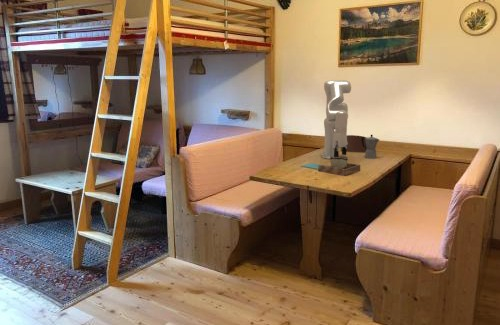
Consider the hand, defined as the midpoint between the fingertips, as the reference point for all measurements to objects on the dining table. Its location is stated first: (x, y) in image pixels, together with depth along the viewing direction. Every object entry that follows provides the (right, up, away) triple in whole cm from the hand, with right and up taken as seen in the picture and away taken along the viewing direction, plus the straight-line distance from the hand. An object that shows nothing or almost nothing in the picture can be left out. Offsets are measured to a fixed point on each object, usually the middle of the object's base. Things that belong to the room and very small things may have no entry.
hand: (340, 155), depth 273 cm
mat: (-14, -7, +16) cm, 23 cm away
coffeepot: (+32, -1, +44) cm, 55 cm away
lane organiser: (-1, -10, +3) cm, 11 cm away
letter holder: (+27, +5, +71) cm, 76 cm away
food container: (0, -10, +3) cm, 11 cm away
